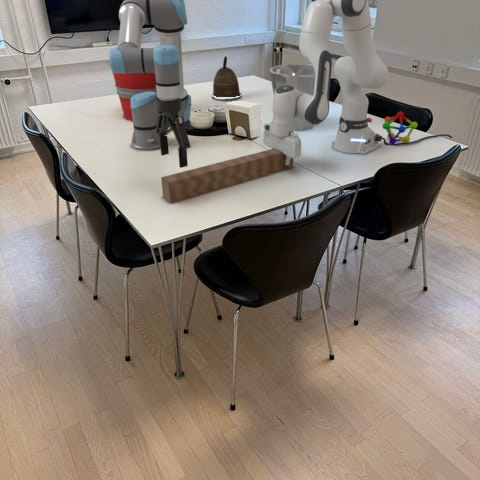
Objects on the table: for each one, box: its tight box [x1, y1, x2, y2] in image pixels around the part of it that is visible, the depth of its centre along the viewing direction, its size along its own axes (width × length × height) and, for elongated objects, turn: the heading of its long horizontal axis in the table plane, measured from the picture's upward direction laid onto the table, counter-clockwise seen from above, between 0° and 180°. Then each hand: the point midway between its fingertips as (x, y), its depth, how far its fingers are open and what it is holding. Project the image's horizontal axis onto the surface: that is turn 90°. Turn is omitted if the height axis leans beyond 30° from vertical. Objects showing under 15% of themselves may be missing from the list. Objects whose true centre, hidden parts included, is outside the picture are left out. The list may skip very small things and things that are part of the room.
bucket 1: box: [105, 60, 157, 122], centre depth 239 cm, size 35×35×30 cm
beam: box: [161, 148, 294, 204], centre depth 171 cm, size 57×6×8 cm, turn 125°
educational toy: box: [382, 110, 418, 144], centre depth 207 cm, size 16×13×15 cm
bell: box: [212, 56, 242, 97], centre depth 278 cm, size 19×26×20 cm
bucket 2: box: [269, 63, 315, 131], centre depth 226 cm, size 30×30×28 cm
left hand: (174, 160), depth 153 cm, fingers open, 13 cm apart
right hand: (281, 161), depth 183 cm, fingers closed on beam, 5 cm apart
